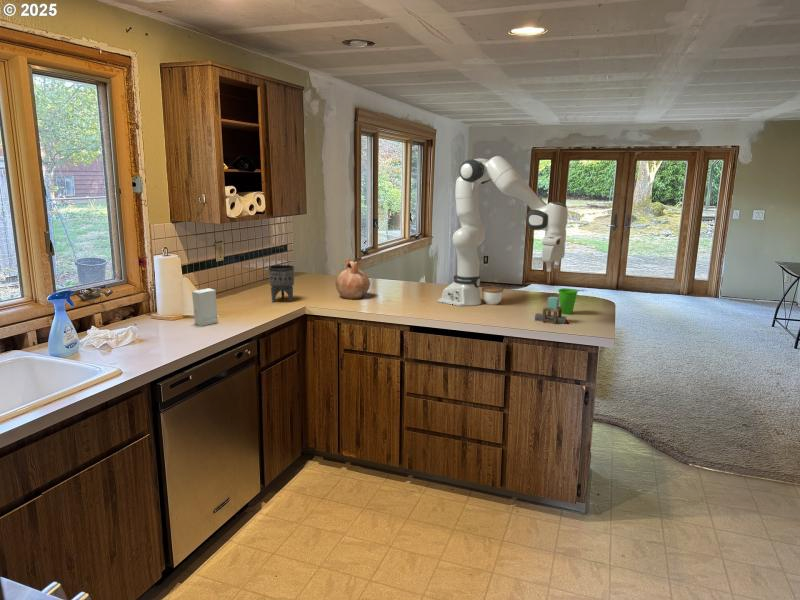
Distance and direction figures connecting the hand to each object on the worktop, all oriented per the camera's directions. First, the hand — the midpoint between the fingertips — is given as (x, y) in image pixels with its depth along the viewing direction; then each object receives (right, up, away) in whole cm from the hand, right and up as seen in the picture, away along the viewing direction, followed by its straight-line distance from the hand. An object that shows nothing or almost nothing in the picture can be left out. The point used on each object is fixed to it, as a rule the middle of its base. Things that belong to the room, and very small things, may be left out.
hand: (552, 270), depth 253 cm
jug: (-93, -12, +48) cm, 106 cm away
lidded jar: (-21, -15, +35) cm, 44 cm away
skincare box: (-152, -24, -8) cm, 154 cm away
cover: (0, -23, 0) cm, 23 cm away
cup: (+11, -20, +15) cm, 27 cm away
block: (0, -17, -2) cm, 17 cm away
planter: (-129, -14, +37) cm, 135 cm away
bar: (-1, -23, -1) cm, 23 cm away
